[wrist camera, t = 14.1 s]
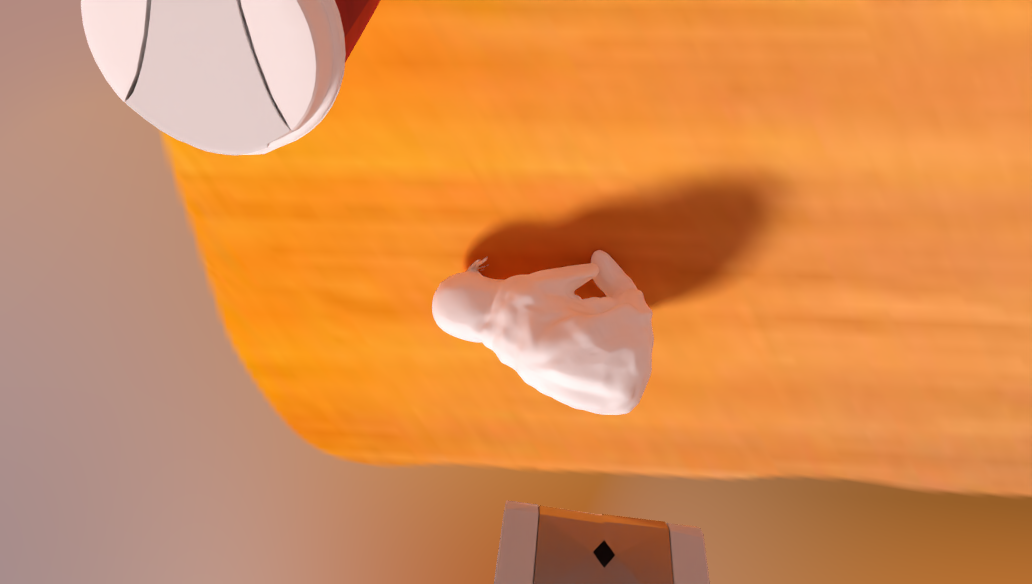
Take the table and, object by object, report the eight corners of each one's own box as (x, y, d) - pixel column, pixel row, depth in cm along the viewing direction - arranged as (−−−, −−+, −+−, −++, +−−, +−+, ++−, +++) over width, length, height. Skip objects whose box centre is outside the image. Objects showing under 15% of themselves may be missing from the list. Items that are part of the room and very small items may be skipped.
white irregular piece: (638, 450, 37) (406, 408, 38) (644, 342, 44) (447, 310, 45) (661, 355, 33) (403, 312, 35) (664, 253, 40) (448, 221, 41)
